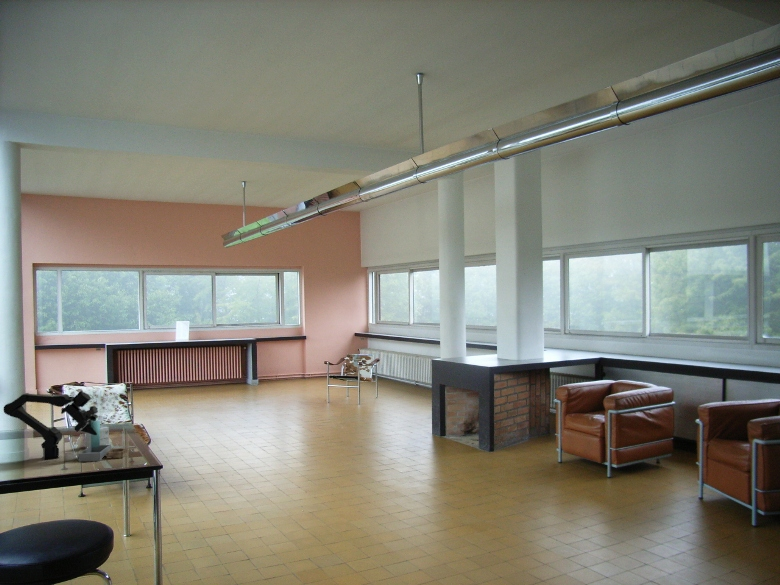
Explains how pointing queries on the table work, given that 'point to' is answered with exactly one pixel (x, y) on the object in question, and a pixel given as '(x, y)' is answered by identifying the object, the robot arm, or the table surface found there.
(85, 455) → the tray
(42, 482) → the table surface
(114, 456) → the socket block
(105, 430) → the light bulb box
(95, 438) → the dowel
